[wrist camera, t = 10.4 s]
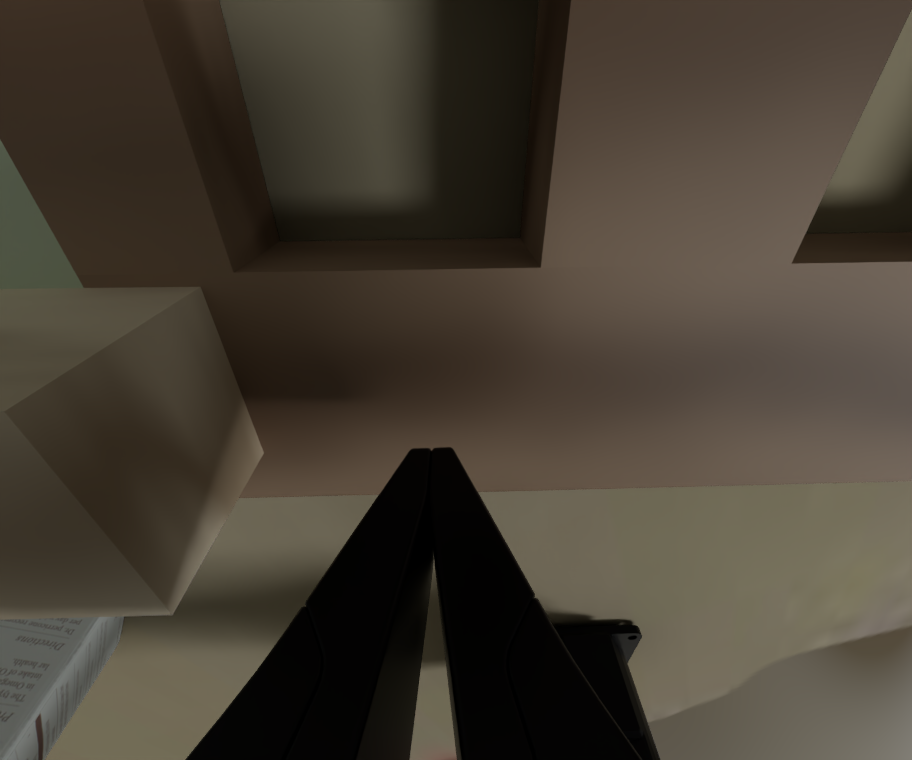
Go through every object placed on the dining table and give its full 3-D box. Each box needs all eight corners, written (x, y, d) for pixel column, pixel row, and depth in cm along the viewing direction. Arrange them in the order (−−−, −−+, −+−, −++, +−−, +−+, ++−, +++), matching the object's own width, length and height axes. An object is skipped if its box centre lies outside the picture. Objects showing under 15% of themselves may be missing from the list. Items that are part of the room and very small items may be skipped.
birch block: (263, 453, 10) (173, 614, 7) (89, 456, 10) (-92, 622, 7) (200, 286, 8) (4, 411, 4) (-33, 289, 7) (-425, 419, 4)
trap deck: (929, 424, 13) (1019, 478, 11) (63, 443, 13) (-11, 504, 11) (1464, -189, 6) (1978, -349, 4) (-429, -194, 6) (-926, -378, 4)
